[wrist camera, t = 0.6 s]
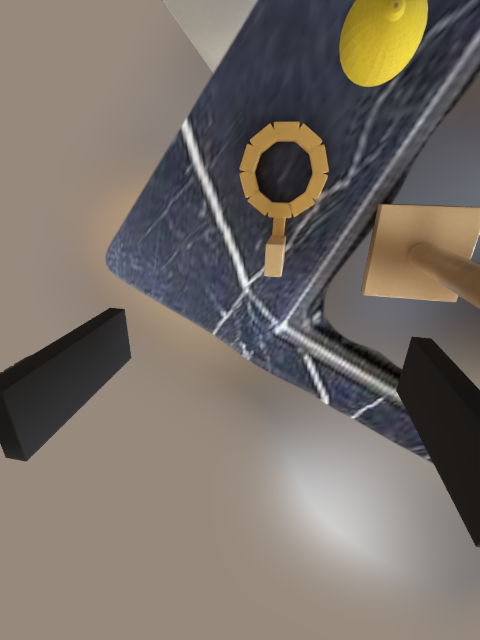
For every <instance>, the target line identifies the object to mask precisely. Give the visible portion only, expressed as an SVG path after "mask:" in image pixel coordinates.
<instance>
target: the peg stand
mask: <svg viewBox="0 0 480 640" xmlns="http://www.w3.org/2000/svg"><path fill="white" fill-rule="evenodd" d="M479 234H480V207H463V206H433V205H430V206H429V205H404V204H378V209H377V214H376V219H375V224H374V229H373V234H372V239H371V244H370V249H369V253H368V258H367V264H366V269H365V273H364V278H363V284H362V288H361V291H362V293H363V294H364V295H371V296H383V297H397V298H409V299H422V300H434V301H447V302H456V301H457V298H458V295H459V296H460V297H462V298H463V299H465V300H467V301H468V302H470V303H471V304H473V305H474V306H476V307H477V308H479V309H480V264H479V263H477V262H474V261H472V260H471V257H472V254H473V251H474V248H475V245H476V242H477V239H478V237H479Z"/></svg>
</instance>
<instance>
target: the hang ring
mask: <svg viewBox="0 0 480 640" xmlns="http://www.w3.org/2000/svg"><path fill="white" fill-rule="evenodd" d="M299 126H300V122H274V129H273V127H272V125H271V124H269V125H267V126H266V127H265V128H264V129H262V130H261V131H260V132H259V133H258V134H256V135H255V136H254V137H253V138H252V139H250V142H251V144H252V145H253V146H252V145H249V144H247V146H246V149H245V152H244V156H243V159H242V162H241V165H240V170H242V171H244V172H242V173H239V175H240V179H241V183H242V187H243V190H244V194H245V197H246V198H248V197H250V198H249V199H248V202H249V203H250V204H252V205H253V206H254V207H255V208H256V209H257V210H259V211H260V212H261V213H262V214H263V215H266V214H267V213H268V217H274V219H273V233H272V235H271V237H270V238H269V240H268V242H267V244H266V253H265V269H264V276H274V277H281V274H282V269H283V264H284V253H285V242H286V236H284V232H285V220H286V218H291V213H292V214H293V216H294V217H295V216H297V215H298V214H300V213H301V212H303V211H304V210H306V209H307V208H309V207H310V206H312V205H313V204H315V202H314V201H313V199H315V200H318V198H319V196H320V193H321V191H322V189H323V187H324V184H325V182H326V180H327V177H328V175H326V174H323V173H326V172H328V171H329V169H328V163H327V157H326V151H325V145H324V144H323V145H321V146H319V145H320V144H321V142H322V140H321V139H320V138H319V137H318V136H317V135H316V134H315V133H314V132H313V131H312V130H311V129H309V128H308V127H307V126H306V125H305V124H304V123H303V124H302V126H301V127H300V128H299ZM276 142H296V143H297V144H298V145H299V146H300V147H301V148H303V149H304V150H305V151H306V152H307V153H308V154H309V157H310V163H311V168H312V176H311V179H310V181H309V184H308V186H307V188H306V191H305V192H304V193H303V194H302V195H300V196H299V197H297V198H296V199H294V200H293V201H291V202H290V203H285V202H272V201H271V200H270V199H269V198H267V197H266V196H265V195H264V194H263V193H262V192H260V190H259V186H258V182H257V178H256V174H255V171H256V168H257V165H258V162H259V159H260V156H261V154H262V153H263V152H264V151H266V150H267V149H268V148H269V147H271V146H272V145H273V144H274V143H276ZM312 198H313V199H312Z"/></svg>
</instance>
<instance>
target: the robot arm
mask: <svg viewBox="0 0 480 640" xmlns="http://www.w3.org/2000/svg"><path fill="white" fill-rule="evenodd" d="M130 359H131V352H130V345H129V338H128V331H127V323H126V316H125V309H117V308H109V309H108V310H106V311H104V312H103V313H101V314H99V315H98V316H96V317H94V318H93V319H91V320H89V321H88V322H86V323H84V324H83V325H81V326H79V327H78V328H76V329H74V330H73V331H71V332H70V333H68V334H66V335H65V336H63V337H61V338H60V339H58V340H56V341H55V342H53V343H51V344H50V345H48V346H46V347H45V348H43V349H42V350H40V351H38V352H36V353H35V354H33V355H31V356H28V357H26V358H24V359H22V360H21V361H19V362H17V363H16V364H14V366H11V367H9V368H7V369H6V370H4V372H1V373H0V444H1V446H2V449H3V451H4V454H5V457H6V458H11V459H16V460H21V461H27V460H28V459H29V458H30V457H31V456H32V455H33V454H34V453H35V452H37V451H38V450H39V449H40V448H41V447H42V446H43V445H44V444H45V443H46V442H47V441H48V440H49V439H50V438H51V437H52V436H53V435H54V434H55V433H56V432H57V431H58V430H59V429H60V428H61V427H62V426H63V425H64V424H65V423H66V422H67V421H68V420H69V419H70V418H71V417H72V416H73V415H74V414H75V413H76V412H77V411H78V410H79V409H80V408H81V407H82V406H83V405H84V404H85V403H86V402H87V401H88V400H89V399H90V398H91V397H92V396H93V395H94V394H95V393H96V392H97V391H98V390H99V389H100V388H101V387H102V386H103V385H104V384H105V383H106V382H107V381H108V380H109V379H111V377H113V375H115V373H116V372H118V371H119V370H120V369H121V367H123V366H124V365H125V364H126V363H127V362H128V361H129V360H130ZM396 391H397V393H398V395H399V397H400V399H401V401H402V403H403V404H404V406H405V408H406V410H407V412H408V414H409V416H410V418H411V420H412V422H413V424H414V426H415V428H416V430H417V432H418V434H419V436H420V438H421V440H422V442H423V444H424V446H425V448H426V450H427V451H428V453H429V455H430V457H431V459H432V461H433V463H434V465H435V467H436V469H437V471H438V473H439V475H440V477H441V479H442V481H443V483H444V485H445V486H446V489H447V491H448V493H449V494H450V496H451V499H452V500H453V502H454V504H455V506H456V508H457V510H458V512H459V514H460V516H461V518H462V520H463V522H464V524H465V526H466V528H467V530H468V532H469V534H470V535H471V538H472V540H473V542H474V543H475V545H476V547H480V390H479V389H478V388H477V387H476V386H475V385H474V383H473V382H472V381H471V380H470V379H469V378H468V377H467V376H466V375H465V374H464V373H463V372H462V371H461V370H460V369H459V368H458V366H457V365H456V364H455V363H454V362H453V361H452V360H451V359H450V358H449V357H448V356H447V355H446V354H445V353H444V352H443V350H442V349H441V348H440V347H439V346H438V345H437V344H436V343H435V342H434V341H433V340H432V339H430V338H420V337H412V338H411V341H410V345H409V348H408V352H407V355H406V359H405V362H404V366H403V369H402V372H401V376H400V379H399V383H398V386H397V390H396Z"/></svg>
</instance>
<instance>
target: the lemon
mask: <svg viewBox="0 0 480 640" xmlns="http://www.w3.org/2000/svg"><path fill="white" fill-rule="evenodd" d="M427 13H428V4H427V0H356V1H355V2H354V4H353V6H352V8H351V10H350V11H349V13H348V15H347V17H346V20H345V23H344V26H343V29H342V32H341V37H340V45H339V52H340V62H341V65H342V68H343V71H344V72H345V74H346V75H347V77H348V78H349V79H350V80H351V81H353V82H354V83H355V84H358V85H360V86H367V87H372V86H376V85H380V84H383V83H385V82H386V81H388V80H390V79H392V78H393V77H394V76H396V75H397V74H398V73H399V72H400V71H401V70H402V69H403V68H404V67H405V66H406V65H407V63H408V62H409V61H410V60H411V58H412V57H413V55H414V53H415V51H416V49H417V48H418V46H419V44H420V42H421V39H422V36H423V33H424V30H425V27H426V22H427Z"/></svg>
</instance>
